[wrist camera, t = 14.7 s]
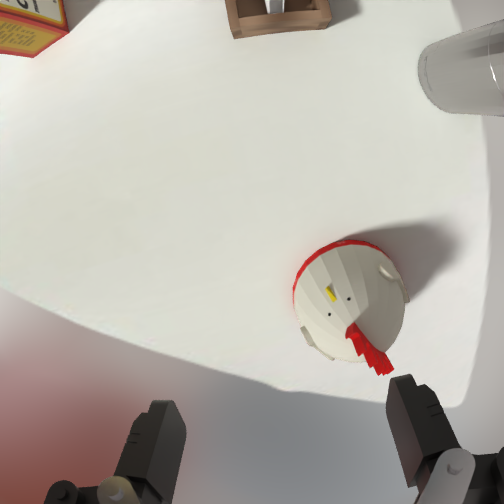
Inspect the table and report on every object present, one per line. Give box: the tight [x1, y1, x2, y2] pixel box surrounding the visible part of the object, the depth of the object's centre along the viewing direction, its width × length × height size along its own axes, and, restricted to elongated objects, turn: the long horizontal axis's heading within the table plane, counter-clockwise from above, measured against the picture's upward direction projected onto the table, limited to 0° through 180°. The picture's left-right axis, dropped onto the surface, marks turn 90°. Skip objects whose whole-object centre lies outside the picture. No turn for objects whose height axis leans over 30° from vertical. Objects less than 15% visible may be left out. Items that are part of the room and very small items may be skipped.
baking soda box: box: [0, 0, 69, 58], centre depth 20 cm, size 10×6×16 cm
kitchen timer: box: [293, 240, 410, 376], centre depth 34 cm, size 14×14×15 cm
